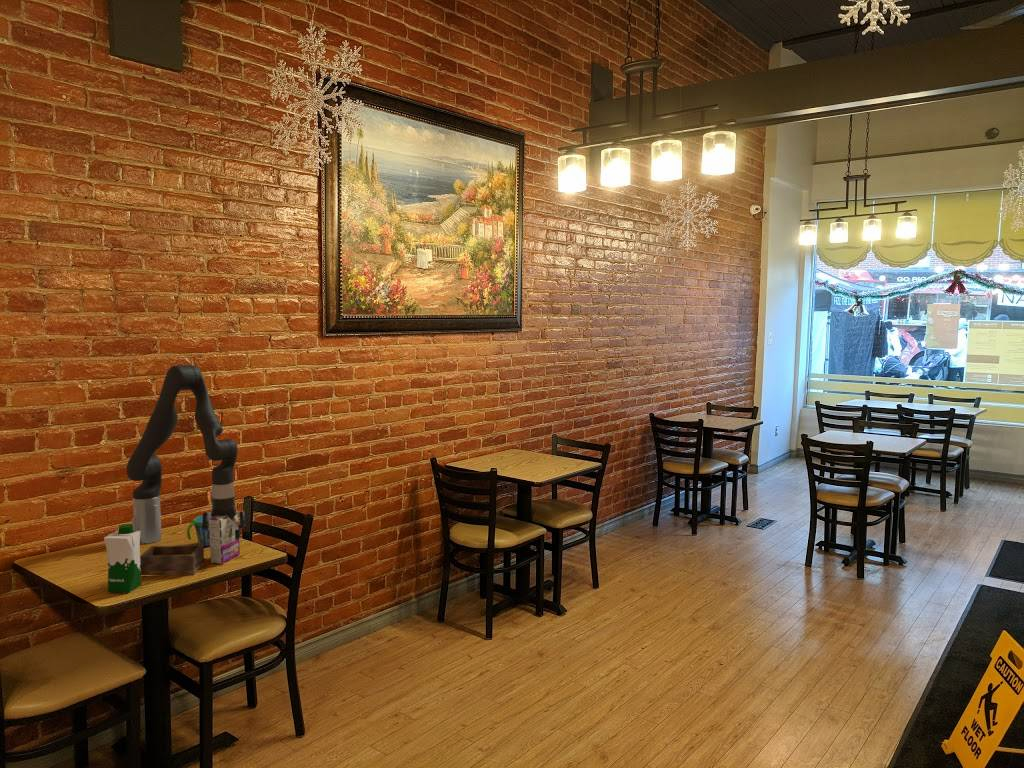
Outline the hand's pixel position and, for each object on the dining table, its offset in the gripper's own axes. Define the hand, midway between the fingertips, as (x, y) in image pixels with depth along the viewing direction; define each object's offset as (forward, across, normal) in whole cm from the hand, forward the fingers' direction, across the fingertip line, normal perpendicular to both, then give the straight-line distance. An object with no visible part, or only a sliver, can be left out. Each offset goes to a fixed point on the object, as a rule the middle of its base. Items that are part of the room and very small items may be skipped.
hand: (224, 539), depth 260 cm
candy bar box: (+7, 0, 0) cm, 7 cm away
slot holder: (+7, +15, +9) cm, 19 cm away
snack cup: (+7, +11, -18) cm, 22 cm away
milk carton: (+7, +24, +26) cm, 36 cm away
